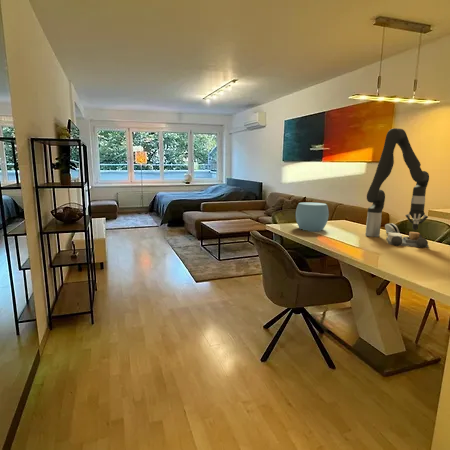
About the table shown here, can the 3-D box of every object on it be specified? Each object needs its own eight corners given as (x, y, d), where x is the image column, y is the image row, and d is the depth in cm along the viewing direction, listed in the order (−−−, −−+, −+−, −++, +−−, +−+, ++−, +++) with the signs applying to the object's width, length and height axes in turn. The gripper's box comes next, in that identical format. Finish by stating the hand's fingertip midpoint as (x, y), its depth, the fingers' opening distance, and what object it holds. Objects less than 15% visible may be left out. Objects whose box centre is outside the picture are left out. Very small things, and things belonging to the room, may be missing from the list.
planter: (324, 227, 268) (325, 202, 264) (330, 233, 243) (332, 205, 240) (293, 226, 270) (294, 201, 267) (296, 231, 246) (298, 205, 242)
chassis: (389, 245, 207) (390, 235, 206) (385, 238, 225) (386, 230, 224) (429, 248, 199) (430, 238, 198) (422, 241, 218) (423, 233, 217)
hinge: (403, 238, 229) (399, 224, 228) (396, 240, 230) (392, 226, 228) (393, 233, 245) (389, 220, 244) (386, 235, 246) (383, 222, 245)
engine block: (409, 242, 209) (410, 233, 208) (408, 240, 214) (409, 231, 213) (418, 242, 208) (419, 233, 206) (417, 241, 212) (418, 232, 211)
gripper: (407, 202, 205) (404, 229, 208) (431, 203, 201) (428, 231, 203) (405, 201, 212) (402, 228, 215) (428, 202, 207) (425, 229, 210)
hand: (414, 229), depth 209 cm, fingers closed
